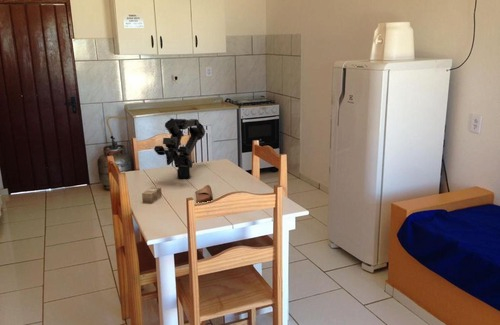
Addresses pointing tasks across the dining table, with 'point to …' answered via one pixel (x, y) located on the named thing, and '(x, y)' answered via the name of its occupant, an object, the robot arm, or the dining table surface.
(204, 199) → the sunglasses case
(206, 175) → the dining table surface
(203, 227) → the dining table surface
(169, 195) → the dining table surface
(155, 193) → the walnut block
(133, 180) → the dining table surface
